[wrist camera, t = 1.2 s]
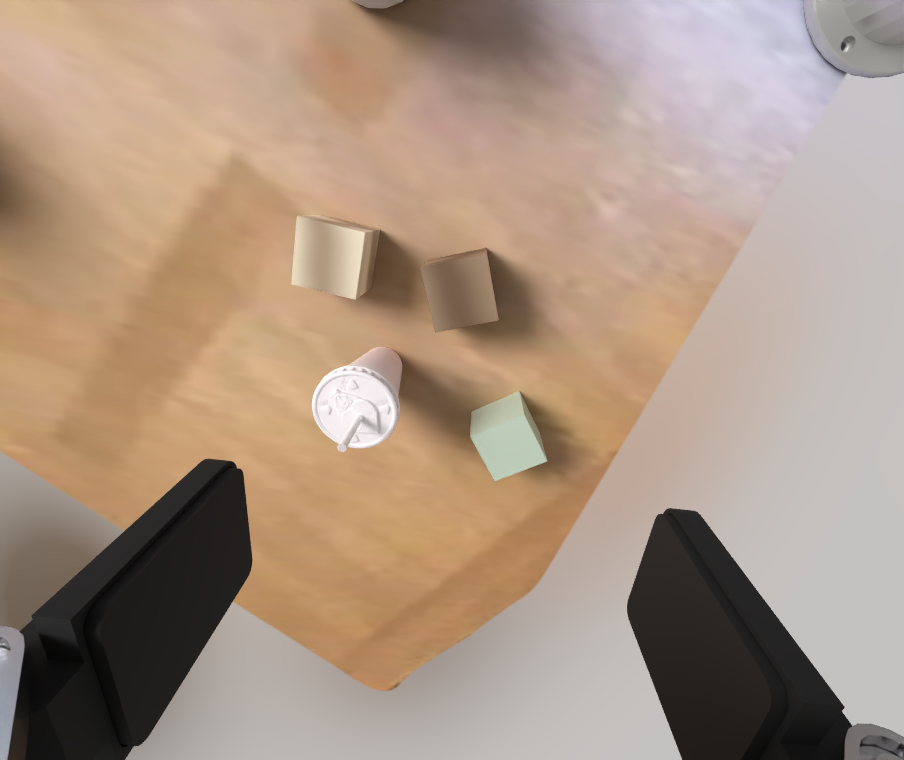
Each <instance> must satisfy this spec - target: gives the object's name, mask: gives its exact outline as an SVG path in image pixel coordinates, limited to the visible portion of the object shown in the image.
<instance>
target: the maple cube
mask: <svg viewBox="0 0 904 760" xmlns="http://www.w3.org/2000/svg"><path fill="white" fill-rule="evenodd" d="M379 234H380V229H377V228H373V227H369V226H365V225H361V224H356V223H352V222H348V221H344V220H340V219H336V218H332V217H328V216H324V215H304V216H297V222H296V235H295V247H294V259H293V272H292V284H293V285H297V286H301V287H305V288H309V289H313V290H317V291H322V292H326V293H330V294H334V295H338V296H342V297H346V298H350V299H355V300H356V299H357V298H359V297H360V296H361V295H363V294H364V293H366V292H367V291H368V290H370V289H371V286H372V279H373V273H374V267H375V260H376V254H377V247H378V241H379Z"/></svg>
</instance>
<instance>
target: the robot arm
mask: <svg viewBox="0 0 904 760" xmlns="http://www.w3.org/2000/svg"><path fill="white" fill-rule="evenodd" d="M804 12H805V18H806V24H807V28H808V30H809V33H810V35H811V38H812V40H813V43H814V45H815V46H816V47H817V49H818V50H819V51H820V53H821V54H822V56H823V57H824V58H825V59H826V60H827V61H829V62H830V63H831V64H832V65H834V66H835V67H836V68H837V69H840V70H842V71H844V72H847V73H849V74H851V75H855V76H862V77H868V78H875V77H889V76H893V75H897V74H901V73H904V0H804ZM251 567H252V552H251V542H250V533H249V523H248V514H247V505H246V495H245V486H244V476H243V472H242V470H241V469H238V468H237V467H236V465H235V463H234V462H232V461H225V460H215V459H205V460H203V461H202V462H200V463H199V464H198V465H197V466H196V467H195V468H194V469H193V470H192V471H190V472H189V473H188V474H187V475H186V476H185V477H184V478H183V479H182V480H180V481H179V482H178V483H177V484H176V485H175V486H174V487H173V488H172V489H171V490H169V491H168V492H167V493H166V494H165V495H164V496H163V497H162V498H161V499H160V500H158V501H157V502H156V503H155V504H154V505H153V506H152V507H151V508H150V509H149V510H147V511H146V512H145V513H144V514H143V515H142V516H141V517H140V518H139V519H137V520H136V521H135V522H134V523H133V524H132V525H131V526H130V527H129V528H128V529H126V530H125V531H124V532H123V533H122V534H121V535H120V536H119V537H118V538H117V539H115V540H114V541H113V542H112V543H111V544H110V545H109V546H108V547H107V548H106V549H104V550H103V551H102V552H101V553H100V554H99V555H98V556H97V557H96V558H95V559H93V560H92V561H91V562H90V563H89V564H88V565H87V566H86V567H85V568H84V569H83V570H81V571H80V572H79V573H78V574H77V575H76V576H75V577H74V578H73V579H71V580H70V581H69V582H68V583H67V584H66V585H65V586H64V587H63V588H61V589H60V590H59V591H58V592H57V593H56V594H55V595H54V596H53V597H51V598H50V599H49V600H48V601H47V602H46V603H45V604H44V605H43V606H42V607H41V608H39V609H38V610H37V611H36V612H35V613H34V614H33V615H32V619H33V620H32V621H31V622H30V623H28V624H27V625H26V626H25V627H24V628H23V629H22V630H21V631H20V632H19V631H18V630H17V629H14V628H10V627H5V626H0V760H125V759H126V757H127V756H128V754H129V753H130V751H131V749H132V748H133V746H139V745H140V744H142V743H143V742H144V741H145V740H146V739H147V737H148V736H149V735H150V733H151V732H152V730H153V728H154V727H155V725H156V723H157V722H158V720H159V719H160V717H161V715H162V714H163V712H164V711H165V709H166V707H167V706H168V704H169V703H170V701H171V700H172V698H173V696H174V695H175V693H176V691H177V690H178V688H179V687H180V685H181V683H182V682H183V680H184V679H185V677H186V675H187V674H188V672H189V671H190V669H191V667H192V666H193V664H194V663H195V661H196V659H197V658H198V656H199V655H200V653H201V651H202V649H203V648H204V647H205V645H206V643H207V642H208V640H209V639H210V637H211V635H212V634H213V632H214V631H215V629H216V627H217V626H218V624H219V623H220V621H221V619H222V618H223V616H224V615H225V613H226V611H227V609H228V608H229V607H230V605H231V603H232V602H233V600H234V599H235V597H236V595H237V594H238V592H239V590H240V589H241V587H242V586H243V584H244V582H245V581H246V579H247V578H248V576H249V573H250V571H251ZM627 613H628V617H629V621H630V624H631V626H632V629H633V631H634V634H635V637H636V639H637V642H638V645H639V647H640V650H641V653H642V655H643V658H644V660H645V663H646V666H647V668H648V671H649V674H650V676H651V678H652V681H653V684H654V686H655V689H656V692H657V694H658V697H659V700H660V702H661V705H662V708H663V710H664V713H665V716H666V718H667V721H668V723H669V726H670V729H671V731H672V734H673V736H674V739H675V741H676V744H677V747H678V750H679V752H680V755H681V757H682V760H904V737H903V736H901V735H899V734H897V733H895V732H893V731H891V730H889V729H886V728H883V727H880V726H877V725H873V724H856V725H854V726H852V725H851V723H850V722H849V721H848V719H847V718H846V717H845V715H844V714H843V713H842V710H843V709H844V706H843V704H842V703H841V702H840V700H839V699H838V698H837V696H836V695H835V694H834V692H833V691H832V690H831V689H830V687H829V686H828V684H827V683H826V682H825V680H824V679H823V678H822V676H821V675H820V674H819V672H818V671H817V670H816V669H815V667H814V666H813V664H812V663H811V662H810V660H809V659H808V658H807V656H806V655H805V654H804V652H803V651H802V650H801V648H800V647H799V646H798V645H797V643H796V642H795V640H794V639H793V638H792V636H791V635H790V634H789V632H788V631H787V630H786V628H785V627H784V626H783V624H782V623H781V622H780V621H779V619H778V618H777V617H776V615H775V614H774V612H773V611H772V610H771V608H770V607H769V606H768V605H767V603H766V602H765V600H764V599H763V598H762V596H761V595H760V594H759V593H758V591H757V590H756V588H755V587H754V586H753V584H752V583H751V582H750V581H749V579H748V578H747V577H746V575H745V574H744V573H743V571H742V570H741V568H740V567H739V566H738V564H737V563H736V562H735V561H734V559H733V558H732V557H731V555H730V554H729V553H728V551H727V550H726V549H725V547H724V546H723V545H722V543H721V542H720V541H719V539H718V538H717V537H716V535H715V534H714V533H713V531H712V530H711V529H710V527H709V526H708V525H707V523H706V522H705V521H704V519H703V518H702V517H701V515H700V514H698V512H696V511H691V510H681V509H672V508H669V509H667V510H665V512H664V513H663V514H658V515H657V517H656V519H655V522H654V524H653V527H652V530H651V533H650V536H649V539H648V542H647V545H646V548H645V551H644V554H643V557H642V561H641V564H640V566H639V570H638V572H637V575H636V579H635V581H634V584H633V587H632V590H631V593H630V596H629V599H628V604H627Z"/></svg>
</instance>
